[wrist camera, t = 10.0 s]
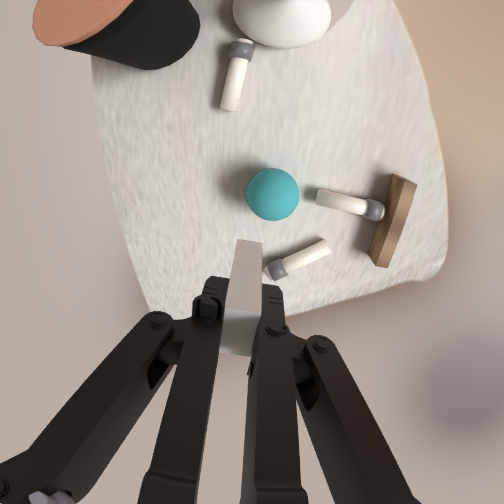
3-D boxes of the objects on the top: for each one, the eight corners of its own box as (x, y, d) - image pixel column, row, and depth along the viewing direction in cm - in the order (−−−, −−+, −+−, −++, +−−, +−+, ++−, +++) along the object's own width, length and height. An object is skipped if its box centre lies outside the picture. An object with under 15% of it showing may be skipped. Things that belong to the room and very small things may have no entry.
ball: (260, 161, 26) (311, 192, 27) (265, 156, 32) (307, 181, 32) (232, 210, 29) (280, 238, 30) (241, 196, 34) (282, 220, 35)
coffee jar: (139, 1, 21) (64, -49, 5) (214, 5, 22) (173, -72, 6) (114, 68, 26) (16, 53, 10) (187, 76, 27) (113, 42, 11)
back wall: (393, 174, 31) (405, 180, 28) (404, 178, 32) (417, 184, 28) (367, 253, 37) (375, 265, 34) (378, 256, 37) (387, 268, 34)
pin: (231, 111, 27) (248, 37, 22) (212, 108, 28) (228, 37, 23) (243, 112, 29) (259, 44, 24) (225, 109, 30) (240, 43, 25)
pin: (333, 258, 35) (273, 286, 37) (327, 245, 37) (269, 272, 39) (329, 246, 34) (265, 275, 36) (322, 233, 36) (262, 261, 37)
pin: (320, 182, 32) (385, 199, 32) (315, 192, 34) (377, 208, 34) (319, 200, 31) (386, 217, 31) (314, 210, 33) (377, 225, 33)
